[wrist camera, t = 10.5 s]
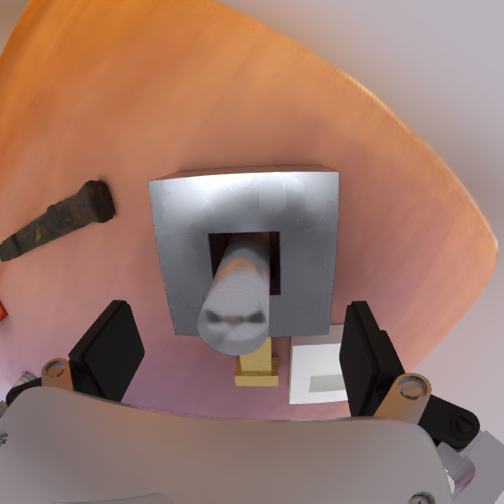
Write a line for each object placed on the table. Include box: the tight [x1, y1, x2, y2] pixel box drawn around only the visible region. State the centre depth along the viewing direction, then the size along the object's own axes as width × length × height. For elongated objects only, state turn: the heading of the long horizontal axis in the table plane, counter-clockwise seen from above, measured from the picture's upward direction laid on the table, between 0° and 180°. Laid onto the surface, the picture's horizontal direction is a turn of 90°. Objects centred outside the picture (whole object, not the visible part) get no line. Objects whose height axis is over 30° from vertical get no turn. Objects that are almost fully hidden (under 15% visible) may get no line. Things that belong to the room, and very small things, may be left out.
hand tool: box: [0, 180, 115, 262], centre depth 23 cm, size 19×4×5 cm, turn 104°
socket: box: [148, 165, 339, 337], centre depth 22 cm, size 12×12×6 cm
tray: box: [289, 324, 348, 404], centre depth 27 cm, size 9×9×3 cm
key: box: [234, 337, 278, 386], centre depth 26 cm, size 13×4×3 cm, turn 3°
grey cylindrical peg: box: [197, 231, 270, 356], centre depth 18 cm, size 3×3×13 cm
